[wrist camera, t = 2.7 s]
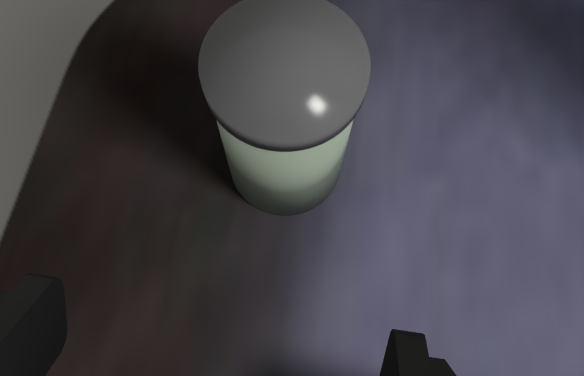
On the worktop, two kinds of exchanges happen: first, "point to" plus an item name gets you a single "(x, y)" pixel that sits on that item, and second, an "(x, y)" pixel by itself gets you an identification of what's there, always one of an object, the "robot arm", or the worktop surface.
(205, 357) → the worktop surface
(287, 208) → the jar
